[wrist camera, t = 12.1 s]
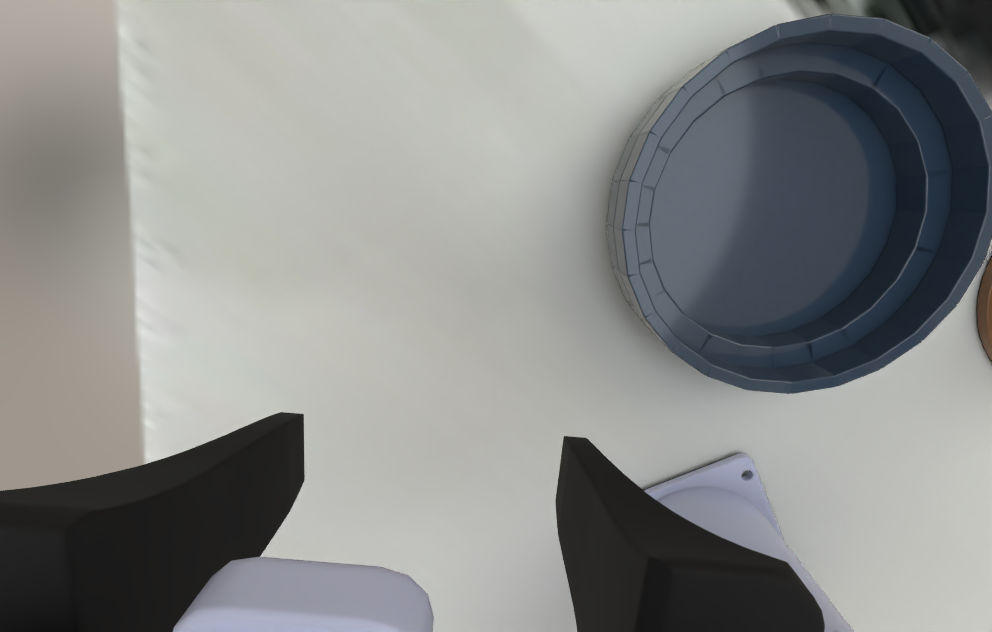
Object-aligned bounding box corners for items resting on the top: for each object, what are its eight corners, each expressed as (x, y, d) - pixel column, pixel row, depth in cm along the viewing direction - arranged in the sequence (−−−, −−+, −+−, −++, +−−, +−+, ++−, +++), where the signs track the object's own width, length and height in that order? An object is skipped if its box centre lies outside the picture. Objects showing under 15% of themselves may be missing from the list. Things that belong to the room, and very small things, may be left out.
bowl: (954, 289, 22) (1036, 308, 18) (668, 405, 23) (696, 443, 20) (875, -21, 19) (955, -64, 16) (555, 137, 21) (565, 128, 17)
